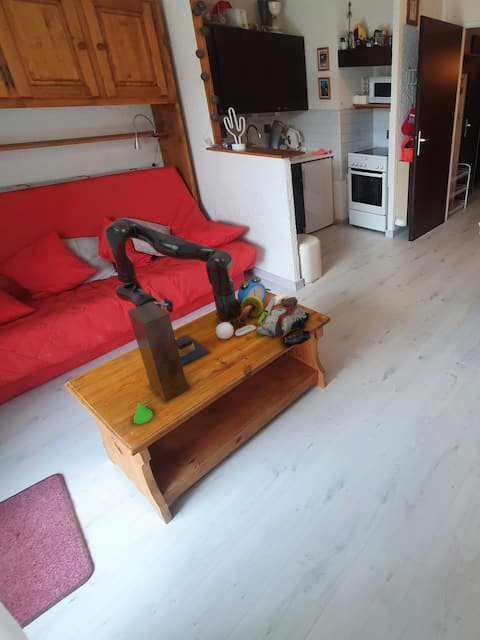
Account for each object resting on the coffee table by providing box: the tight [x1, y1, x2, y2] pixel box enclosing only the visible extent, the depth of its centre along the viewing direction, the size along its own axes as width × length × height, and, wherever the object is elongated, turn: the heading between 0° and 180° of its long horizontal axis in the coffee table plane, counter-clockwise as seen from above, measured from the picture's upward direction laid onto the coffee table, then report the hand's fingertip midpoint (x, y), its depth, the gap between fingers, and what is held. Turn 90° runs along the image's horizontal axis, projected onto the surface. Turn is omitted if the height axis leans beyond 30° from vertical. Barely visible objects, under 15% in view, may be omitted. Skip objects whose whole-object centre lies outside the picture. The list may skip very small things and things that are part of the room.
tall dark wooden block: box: [127, 302, 189, 403], centre depth 130 cm, size 8×12×32 cm, turn 50°
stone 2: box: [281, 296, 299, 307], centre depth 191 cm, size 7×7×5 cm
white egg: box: [215, 322, 235, 340], centre depth 164 cm, size 10×7×7 cm
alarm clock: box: [237, 275, 267, 305], centre depth 187 cm, size 13×6×15 cm, turn 143°
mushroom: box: [230, 295, 265, 326], centre depth 175 cm, size 12×12×15 cm
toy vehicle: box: [272, 292, 292, 307], centre depth 195 cm, size 12×2×4 cm
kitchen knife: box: [256, 295, 275, 326], centre depth 183 cm, size 22×1×3 cm
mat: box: [180, 334, 209, 367], centre depth 157 cm, size 12×18×1 cm, turn 50°
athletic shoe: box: [275, 305, 310, 338], centre depth 168 cm, size 12×25×12 cm
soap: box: [234, 324, 258, 337], centre depth 170 cm, size 10×4×1 cm, turn 135°
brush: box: [175, 335, 195, 357], centre depth 158 cm, size 6×18×5 cm, turn 49°
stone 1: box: [255, 308, 287, 338], centre depth 175 cm, size 22×3×10 cm
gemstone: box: [133, 403, 154, 425], centre depth 124 cm, size 6×6×6 cm
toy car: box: [282, 329, 312, 348], centre depth 162 cm, size 6×12×4 cm, turn 101°
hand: (161, 314), depth 160 cm, fingers open, 8 cm apart
